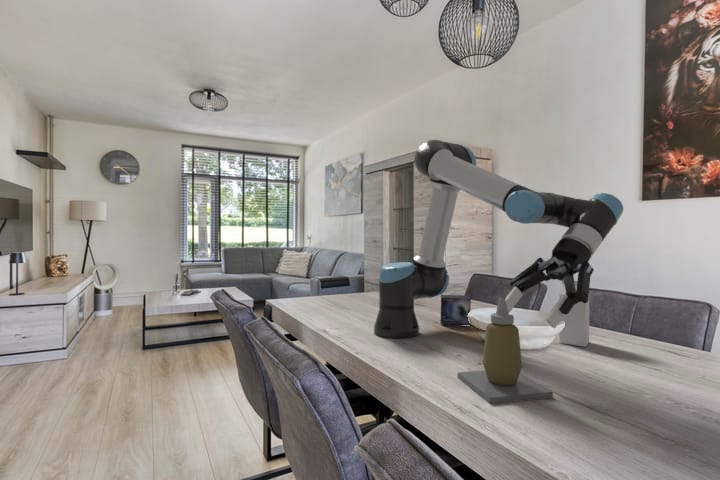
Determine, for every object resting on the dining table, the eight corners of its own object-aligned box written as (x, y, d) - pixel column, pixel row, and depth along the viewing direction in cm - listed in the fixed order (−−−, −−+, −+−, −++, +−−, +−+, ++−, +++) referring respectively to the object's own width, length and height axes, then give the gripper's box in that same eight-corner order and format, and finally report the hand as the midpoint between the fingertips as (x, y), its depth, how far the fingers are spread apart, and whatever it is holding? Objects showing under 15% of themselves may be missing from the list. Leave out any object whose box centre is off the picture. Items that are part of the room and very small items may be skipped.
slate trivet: (457, 377, 89) (457, 372, 89) (512, 373, 92) (512, 368, 91) (489, 403, 75) (489, 397, 75) (552, 397, 78) (552, 391, 78)
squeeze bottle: (493, 371, 89) (493, 294, 89) (528, 381, 83) (528, 298, 83) (475, 381, 83) (475, 298, 83) (512, 391, 78) (512, 302, 77)
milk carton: (585, 347, 113) (586, 282, 113) (559, 343, 117) (559, 281, 117) (589, 342, 118) (589, 280, 118) (563, 338, 123) (563, 279, 123)
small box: (440, 325, 140) (441, 297, 140) (440, 321, 146) (440, 294, 146) (471, 327, 138) (471, 297, 138) (468, 322, 145) (469, 295, 145)
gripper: (638, 262, 79) (584, 342, 74) (542, 255, 102) (496, 316, 97) (620, 236, 77) (563, 317, 72) (526, 236, 100) (478, 296, 95)
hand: (524, 317), depth 85 cm, fingers open, 13 cm apart
